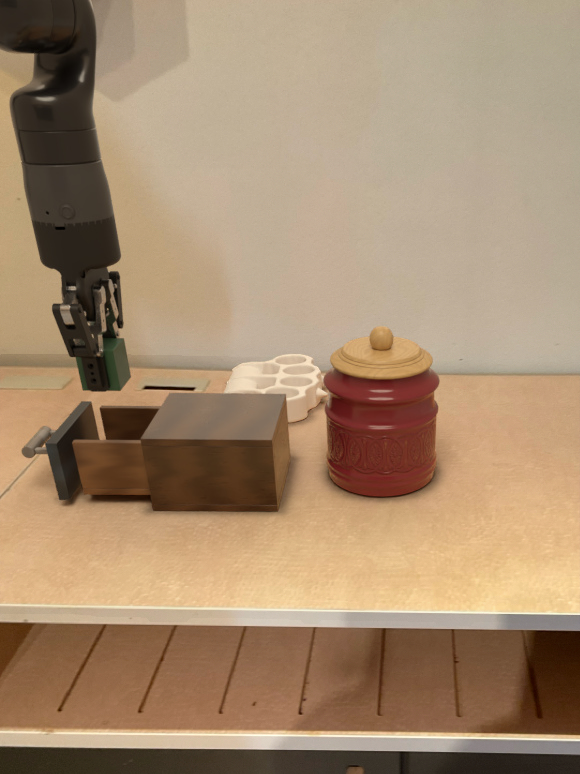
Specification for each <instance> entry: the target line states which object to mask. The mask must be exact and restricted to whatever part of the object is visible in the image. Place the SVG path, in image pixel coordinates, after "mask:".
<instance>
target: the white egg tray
mask: <svg viewBox="0 0 580 774" xmlns="http://www.w3.org/2000/svg"><path fill="white" fill-rule="evenodd" d="M323 378H324V374H322V371H321V370H320V368H319V367H318V366H317V365H315V363H314V358H313V357H311V356H310V355H307V354H302V353H301V354H300V353H288V354H287V353H286V354H281V355H278V356H275V357H274V358H272V359H270V360H266V361H247V362H242V363H239V364H238V365H236V366H235V367H233V368H232V369H231V374H230V377H229V379H228V380H227V381H226V386H225V388H224V391H223V393H247V394H286V401H287V414H288V424H289V423H291V424H292V423H297V422H300V421H302V420H303V421H304V419H307V418H308V415H309V414H308V412H309V411H310V410H312V409H314V408H316V407H317V406H318V405H319V404H320V402H321V399H322V398H324V397H326V396H327V397H328V396H329V392H326V391H325V390H323V385H324V383H323Z"/></svg>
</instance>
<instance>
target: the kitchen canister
mask: <svg viewBox="0 0 580 774" xmlns="http://www.w3.org/2000/svg"><path fill="white" fill-rule="evenodd" d="M433 360H434V359H433V356H432V354H431V353H430V352H429V351H427V350H426V349H424V348H422V347H421V346H420V345H419V344H418V343H416V342H415V341H413V340H411V339H407V338H404V337H400V336H394V334H393V332H392V330H391V328H389V327H387V326H385V325H378V326H375V327H374V328H373V329H372V330H371V331H370V333H369V336H362V337H358V338H354V339H352V340H349V341H347V342H346V343H344V344H343V346H342V347H341V346H340V347H339V348H338V349H336V350H334V352H332V353H331V354H330V357H329V362H330V365H331V366H332V367H331V368H329V370H327V371H326V373H324V374H323V376H324V378H323V383H324V384H323V386H324V387H325V389H326V390H327V391H328V394H329V395H328V396H327V397H328V398H327V400H326V402H325V404H324V409H323V410H324V414H325V418H326V419H325V420H326V441H327V442H326V443H327V444H326V445H327V451H326V456H325V458H326V466H327V469H328V472H329V477H330V479H331V480H332V481H333V483H334V484H335V485H336V486H338V487H340V488H341V489H344V490H345V491H348V492H350V493H354V494H357V495H362V496H368V497H393V496H394V497H395V496H402V495H406V494H409V493H413V492H415V491H418V490H420V489H422V488H424V487H425V486H426V485H428V484H429V483H430V482H431V481H432V479H433V477H434V473H435V470H436V467H437V457H438V455H437V451H436V442H437V441H436V440H437V439H436V438H437V416H438V413H439V405H438V402H437V401H436V399H435V391H436V390H437V389H438V388H439V386H440V383H441V381H440V376H439V375H438V373H437V371H435V370H434V369H433V368H431V366H432V365H433Z"/></svg>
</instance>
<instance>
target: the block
mask: <svg viewBox="0 0 580 774" xmlns="http://www.w3.org/2000/svg"><path fill="white" fill-rule="evenodd" d="M102 339H103V349H104V356H105V361H106V366H107V371H108V376H109V381H110V388H109V389H108V391H107V392H121V391H122V390H123V389H124V387H125V386H126V384H127V383H128V382H129V380H131V378H132V375H131V370H130V364H129V358H128V355H127V354H128V353H127V347H126V343H125V338H124V337H120V338H102ZM93 340H94V337H93ZM84 345H85V343H84ZM75 360H76V366H77V371H78V376H79V379H80V384H81V388H82V391H84V392H85V391H87V392H88V391H89V392H91V391H90V390H88V388H87V384H86V379H85V374H84V370H83V365H82V360H81V357H75Z"/></svg>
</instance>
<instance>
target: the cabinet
mask: <svg viewBox="0 0 580 774" xmlns="http://www.w3.org/2000/svg"><path fill="white" fill-rule="evenodd" d="M160 406H161V407H160V409H159V410H158V412H157V413H156V415H155V416H154V418H153V420H152V421H151V423H150V424H149V426H148V428H147V429H146V431H145V432H144V434H143V435H142V437H141V439H140V441H141V446H142V452H143V457H144V463H145V468H146V474H147V479H148V485H149V490H150V495H149V496H150V501H151V506H152V510H153V511H154V512H155V511H159V512H160V511H161V512H162V511H164V512H167V511H169V512H170V511H171V512H279V509H280V505H281V500H282V497H283V492H284V488H285V484H286V480H287V476H288V472H289V468H290V464H291V461H292V459H291V457H292V456H291V446H290V445H291V444H290V431H289V423H288V414H287V401H286V394H247V393H224V392H169V393H168V394H167V396H166V397H165V399H164V401H163V402H162V404H161V405H160Z"/></svg>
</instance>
